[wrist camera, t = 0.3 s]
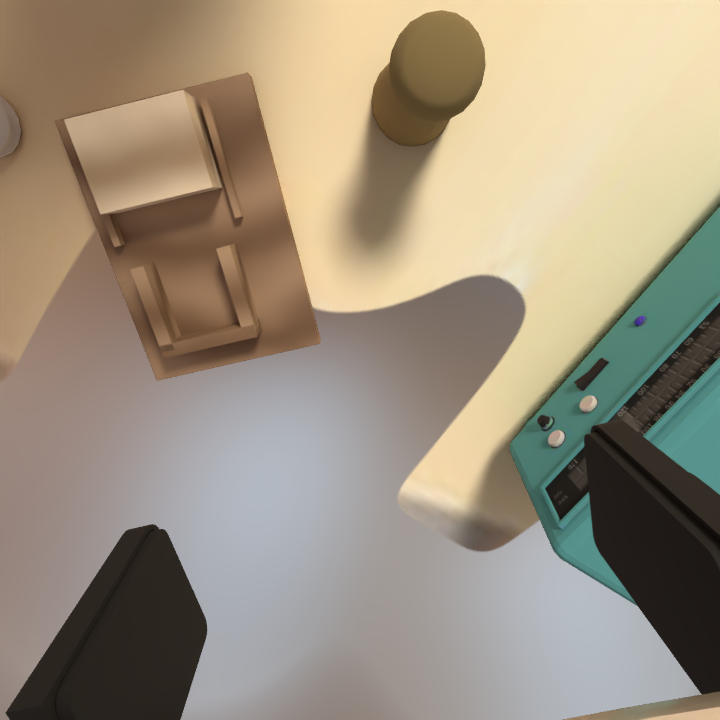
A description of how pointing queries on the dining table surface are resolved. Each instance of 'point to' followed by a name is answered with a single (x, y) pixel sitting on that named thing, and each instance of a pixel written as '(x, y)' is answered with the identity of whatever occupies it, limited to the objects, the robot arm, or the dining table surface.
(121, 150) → the cream rectangular block
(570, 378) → the radio
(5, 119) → the rook chess piece
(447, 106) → the cork
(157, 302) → the board
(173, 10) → the dining table surface
